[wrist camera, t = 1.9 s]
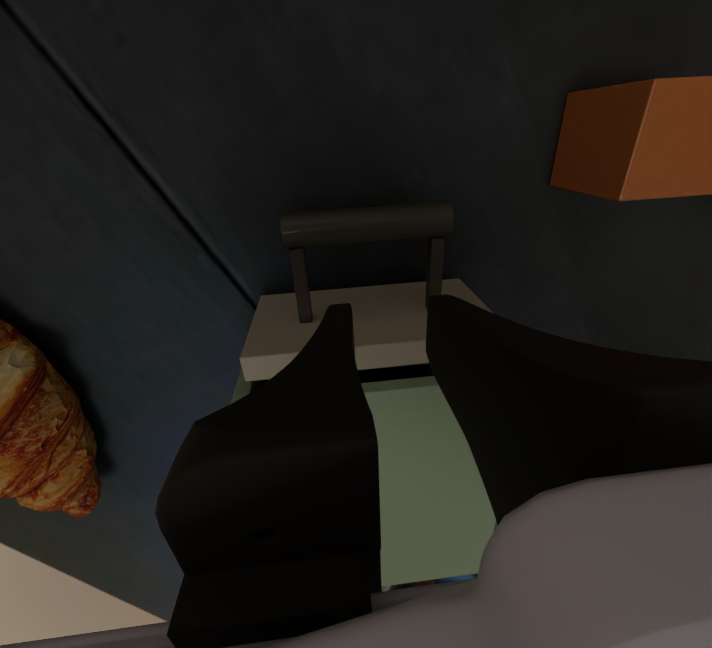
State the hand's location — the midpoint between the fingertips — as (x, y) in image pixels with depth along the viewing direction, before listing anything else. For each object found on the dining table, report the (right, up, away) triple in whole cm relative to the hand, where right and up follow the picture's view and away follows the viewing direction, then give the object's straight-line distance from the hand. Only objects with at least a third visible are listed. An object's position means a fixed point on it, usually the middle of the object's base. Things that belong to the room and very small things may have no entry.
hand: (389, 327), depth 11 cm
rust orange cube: (+11, +10, +7) cm, 16 cm away
